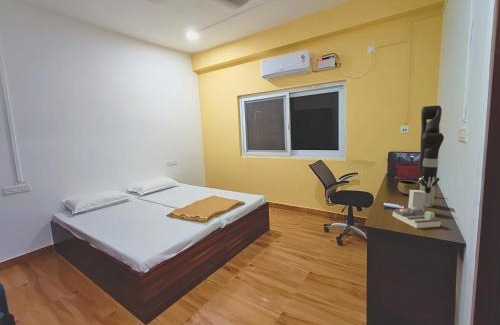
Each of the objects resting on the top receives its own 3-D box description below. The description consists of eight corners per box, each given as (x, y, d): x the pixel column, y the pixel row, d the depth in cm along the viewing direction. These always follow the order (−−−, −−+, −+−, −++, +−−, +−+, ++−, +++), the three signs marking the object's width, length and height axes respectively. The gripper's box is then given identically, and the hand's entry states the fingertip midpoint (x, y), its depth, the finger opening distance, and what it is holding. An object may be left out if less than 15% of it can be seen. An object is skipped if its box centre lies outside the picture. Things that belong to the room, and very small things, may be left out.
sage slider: (424, 218, 150) (424, 211, 150) (428, 217, 151) (429, 211, 150) (429, 220, 146) (430, 213, 146) (434, 220, 147) (434, 213, 146)
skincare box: (411, 212, 170) (413, 191, 168) (407, 209, 176) (409, 189, 173) (424, 212, 169) (426, 192, 166) (419, 209, 174) (421, 189, 172)
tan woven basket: (422, 193, 215) (424, 177, 213) (424, 198, 201) (425, 180, 199) (393, 190, 227) (394, 174, 225) (393, 194, 213) (394, 178, 210)
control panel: (392, 216, 163) (393, 208, 162) (413, 214, 165) (414, 207, 165) (416, 228, 144) (417, 219, 143) (440, 226, 146) (441, 217, 145)
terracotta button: (397, 212, 161) (397, 209, 160) (404, 212, 161) (404, 208, 161) (403, 215, 156) (403, 211, 155) (410, 214, 156) (410, 211, 156)
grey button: (408, 210, 161) (408, 206, 161) (415, 209, 162) (415, 206, 162) (414, 212, 156) (414, 209, 156) (421, 212, 157) (422, 208, 157)
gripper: (434, 164, 152) (432, 190, 155) (415, 165, 151) (413, 191, 154) (445, 166, 145) (442, 194, 148) (425, 166, 144) (422, 195, 146)
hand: (427, 192), depth 151 cm, fingers closed
